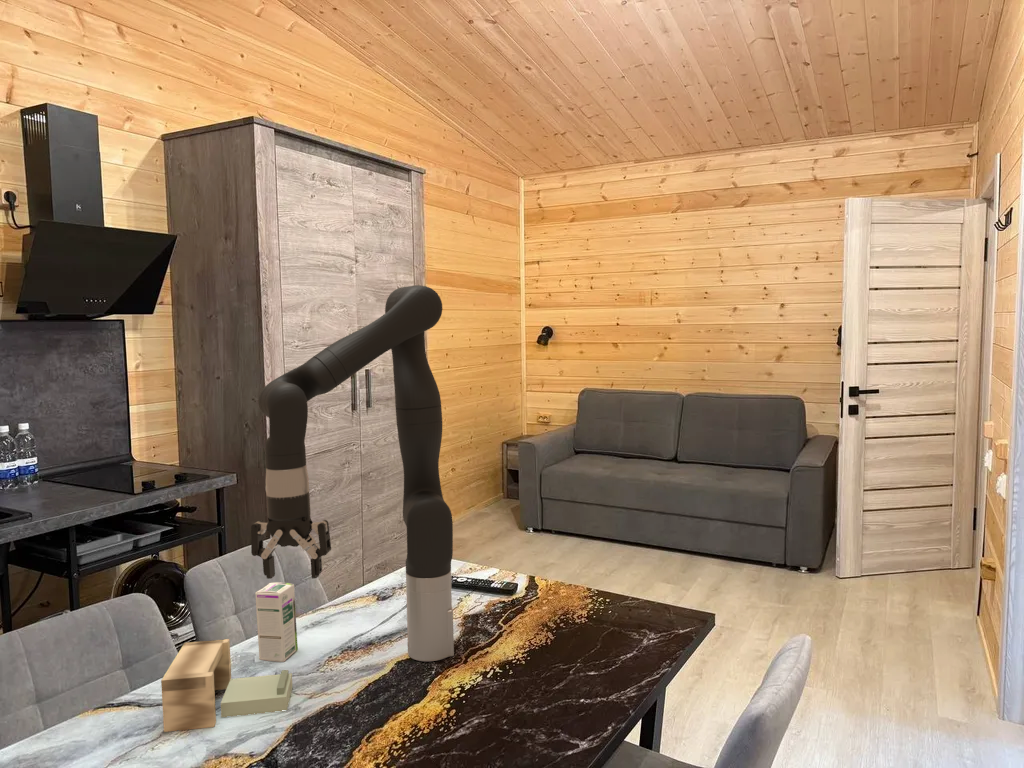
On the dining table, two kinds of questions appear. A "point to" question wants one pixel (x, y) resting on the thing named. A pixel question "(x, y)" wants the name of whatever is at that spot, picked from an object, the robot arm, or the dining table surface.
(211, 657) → the wooden c-channel bracket
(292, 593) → the syrup box
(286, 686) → the panel
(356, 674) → the dining table surface
